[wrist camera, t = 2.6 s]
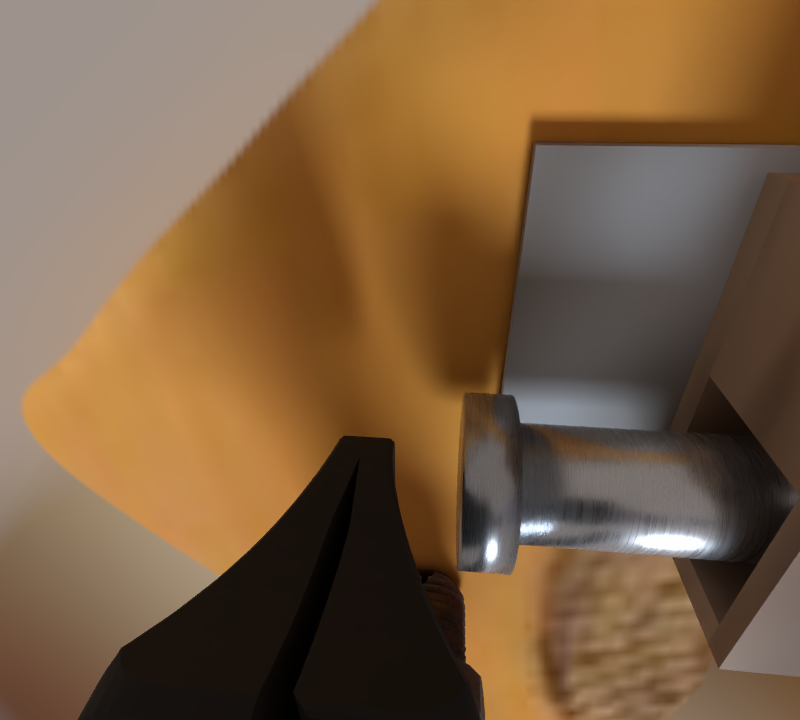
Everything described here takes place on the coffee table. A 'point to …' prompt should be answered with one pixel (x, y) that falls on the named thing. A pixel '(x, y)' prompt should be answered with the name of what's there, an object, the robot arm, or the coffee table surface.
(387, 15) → the coffee table surface
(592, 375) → the block
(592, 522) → the pin
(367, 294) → the coffee table surface
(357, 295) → the coffee table surface
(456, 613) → the bolt
